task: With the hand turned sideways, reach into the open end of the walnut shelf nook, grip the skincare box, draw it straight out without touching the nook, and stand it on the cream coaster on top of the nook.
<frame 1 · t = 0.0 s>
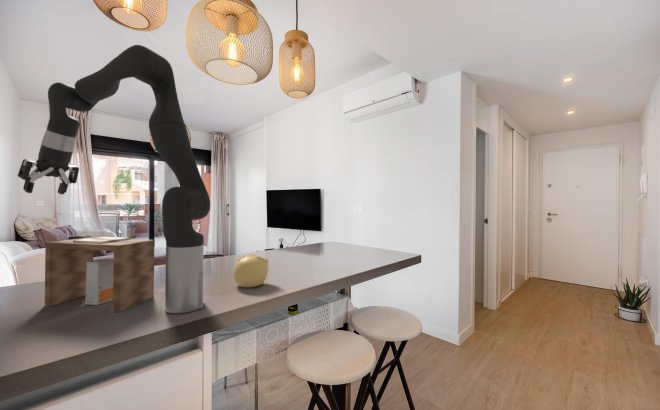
hand: (45, 193, 92), 31 cm above the table, tool tilted 20°, fingers open, 8 cm apart
skincare box: (102, 302, 80), on the table
yellow rounded lump: (250, 285, 98), on the table
shelf nook: (102, 301, 80), on the table
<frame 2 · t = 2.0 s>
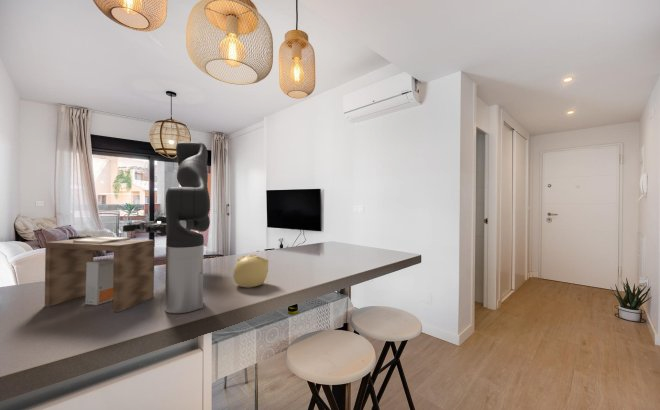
hand: (135, 228, 91), 20 cm above the table, tool horizontal, fingers open, 8 cm apart
nothing on the table moved.
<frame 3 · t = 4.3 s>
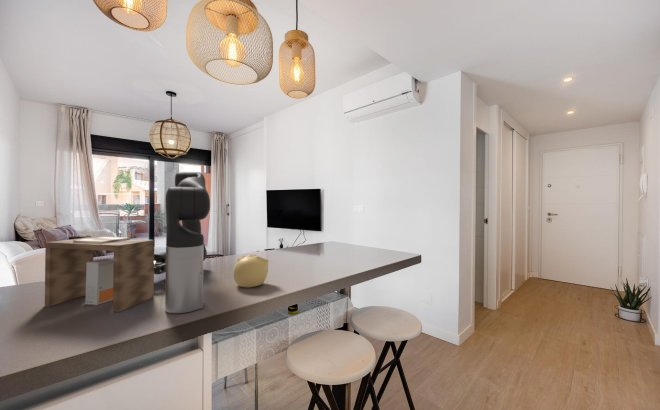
hand: (128, 272, 88), 6 cm above the table, tool horizontal, fingers open, 8 cm apart
nothing on the table moved.
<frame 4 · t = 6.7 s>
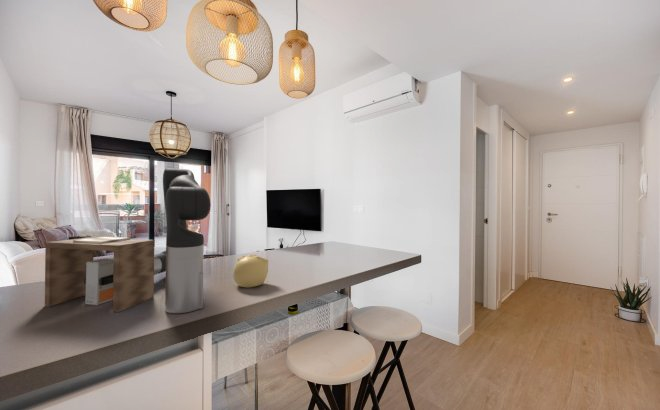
hand: (93, 281, 77), 7 cm above the table, tool horizontal, fingers closed on skincare box, 4 cm apart
skincare box: (102, 302, 80), on the table, touching gripper
everything else where it was.
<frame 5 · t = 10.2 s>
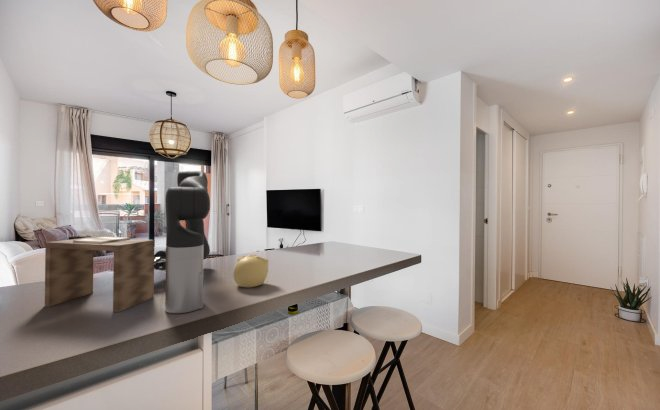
hand: (132, 268, 90), 7 cm above the table, tool horizontal, fingers closed on skincare box, 4 cm apart
skincare box: (139, 286, 93), point 1 cm above the table, touching gripper
everything else where it was.
when the fingers open (26 cm above the table, at t = 13.7 s): skincare box drops 1 cm, resting on shelf nook.
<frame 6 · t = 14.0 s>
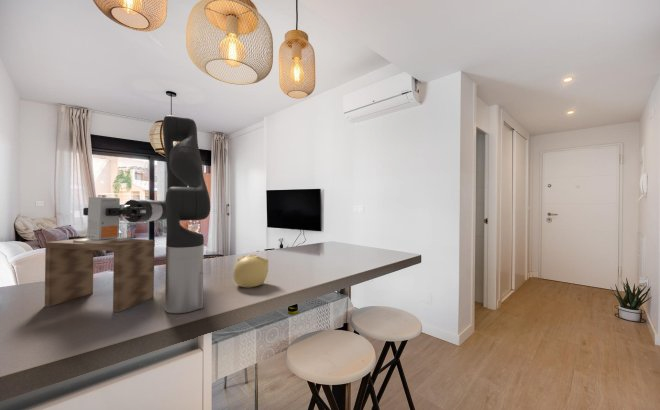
hand: (95, 211, 78), 26 cm above the table, tool horizontal, fingers open, 6 cm apart
skincare box: (103, 239, 80), point 18 cm above the table, touching shelf nook
everything else where it was.
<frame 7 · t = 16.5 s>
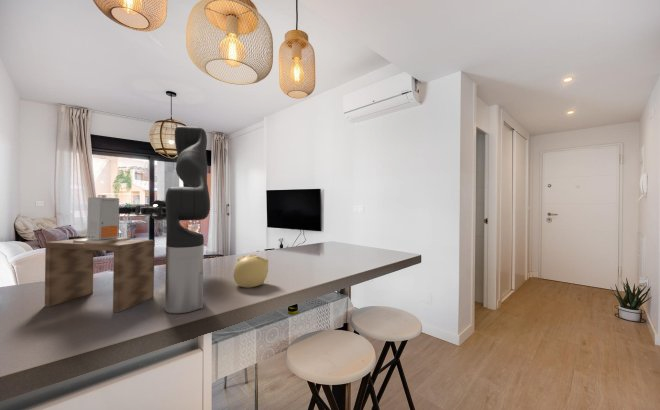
hand: (130, 210, 89), 26 cm above the table, tool horizontal, fingers open, 8 cm apart
nothing on the table moved.
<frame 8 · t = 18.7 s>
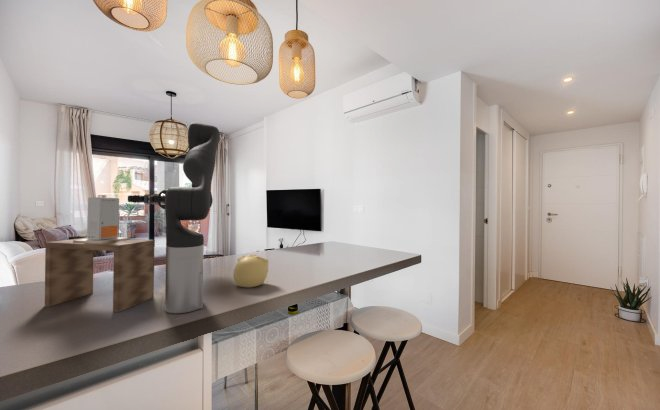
hand: (139, 198, 92), 30 cm above the table, tool horizontal, fingers open, 8 cm apart
nothing on the table moved.
at the end: skincare box inside the target area on the shelf nook (0.1 cm from its centre), point 17.9 cm above the shelf nook's base; skincare box tilted 0°; the gripper is holding nothing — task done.
